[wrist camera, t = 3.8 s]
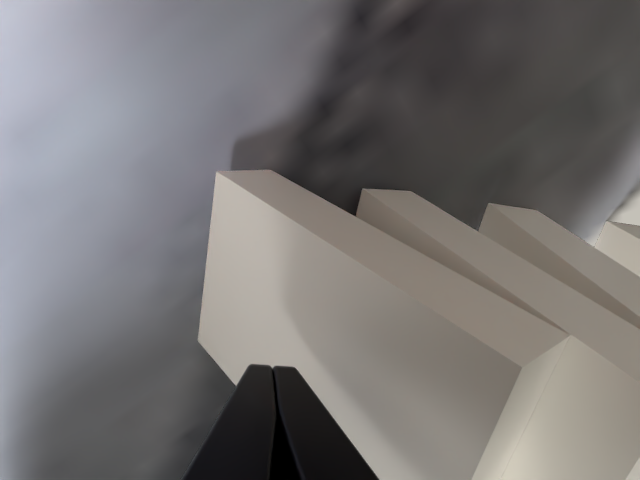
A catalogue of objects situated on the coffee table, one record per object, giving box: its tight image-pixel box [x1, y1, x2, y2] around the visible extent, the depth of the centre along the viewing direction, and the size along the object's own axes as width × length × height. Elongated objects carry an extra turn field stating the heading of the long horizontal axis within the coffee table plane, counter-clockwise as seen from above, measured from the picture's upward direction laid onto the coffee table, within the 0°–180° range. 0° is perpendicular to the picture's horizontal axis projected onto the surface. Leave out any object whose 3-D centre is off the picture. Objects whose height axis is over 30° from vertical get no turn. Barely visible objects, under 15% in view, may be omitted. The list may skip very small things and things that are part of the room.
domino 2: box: [478, 203, 640, 329], centre depth 11 cm, size 5×2×8 cm, turn 169°
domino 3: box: [356, 189, 640, 480], centre depth 10 cm, size 5×2×8 cm, turn 169°
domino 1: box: [198, 170, 570, 480], centre depth 10 cm, size 5×2×8 cm
